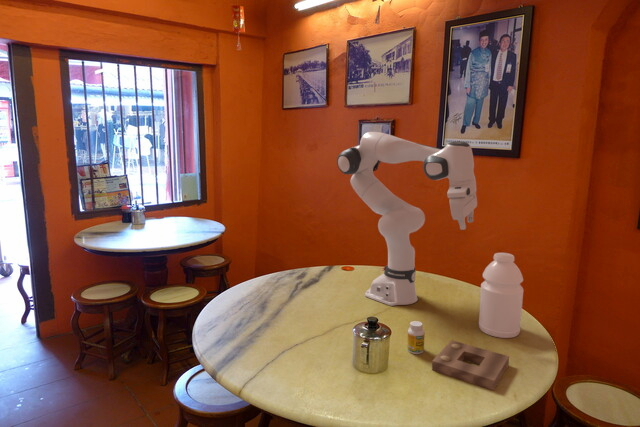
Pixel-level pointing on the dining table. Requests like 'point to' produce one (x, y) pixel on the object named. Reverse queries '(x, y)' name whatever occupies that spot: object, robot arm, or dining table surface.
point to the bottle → (501, 297)
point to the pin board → (483, 375)
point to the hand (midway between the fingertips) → (466, 225)
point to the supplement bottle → (416, 338)
